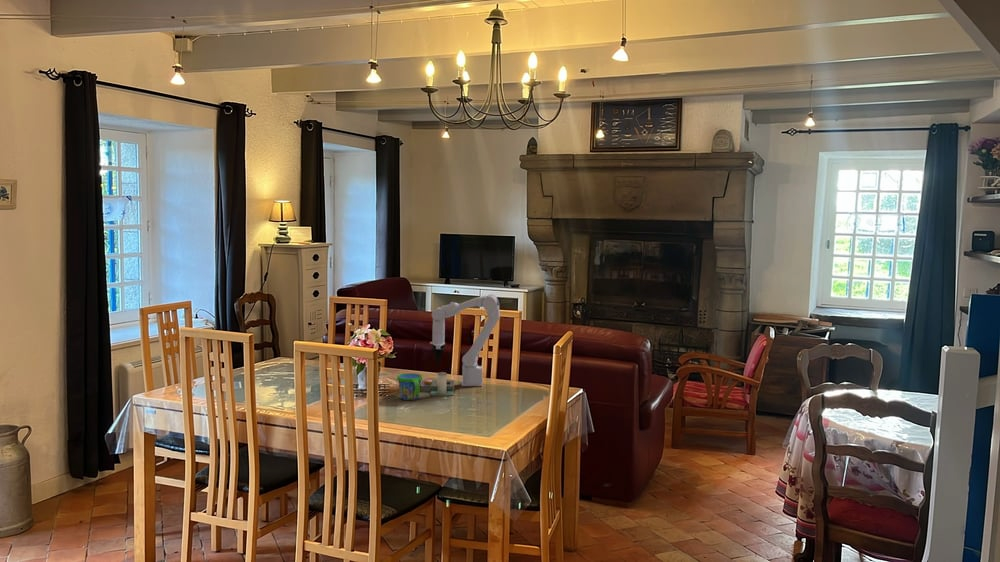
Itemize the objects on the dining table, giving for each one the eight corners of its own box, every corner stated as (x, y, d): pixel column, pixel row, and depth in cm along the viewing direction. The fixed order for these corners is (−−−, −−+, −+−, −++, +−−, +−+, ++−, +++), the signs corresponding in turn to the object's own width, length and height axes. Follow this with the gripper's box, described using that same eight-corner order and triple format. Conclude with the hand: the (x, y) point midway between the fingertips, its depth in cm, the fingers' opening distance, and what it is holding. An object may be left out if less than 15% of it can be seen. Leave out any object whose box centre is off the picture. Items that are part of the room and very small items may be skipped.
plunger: (432, 386, 340) (432, 379, 340) (431, 387, 337) (431, 381, 336) (424, 386, 340) (424, 379, 340) (424, 387, 336) (424, 381, 336)
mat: (453, 392, 331) (453, 391, 331) (453, 396, 325) (453, 394, 325) (430, 392, 330) (430, 391, 330) (430, 396, 324) (430, 394, 324)
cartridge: (446, 391, 330) (446, 372, 329) (446, 394, 326) (446, 374, 325) (437, 391, 329) (437, 372, 329) (437, 394, 326) (437, 374, 325)
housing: (454, 385, 345) (454, 380, 345) (454, 391, 333) (454, 386, 333) (421, 385, 344) (422, 380, 344) (421, 391, 332) (421, 386, 332)
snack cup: (427, 402, 314) (427, 378, 313) (403, 404, 310) (403, 380, 309) (415, 393, 328) (415, 371, 327) (392, 395, 323) (392, 373, 323)
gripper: (430, 330, 354) (430, 358, 355) (429, 335, 340) (429, 364, 341) (445, 330, 355) (444, 358, 356) (445, 335, 340) (444, 364, 342)
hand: (438, 361), depth 349 cm, fingers open, 7 cm apart
